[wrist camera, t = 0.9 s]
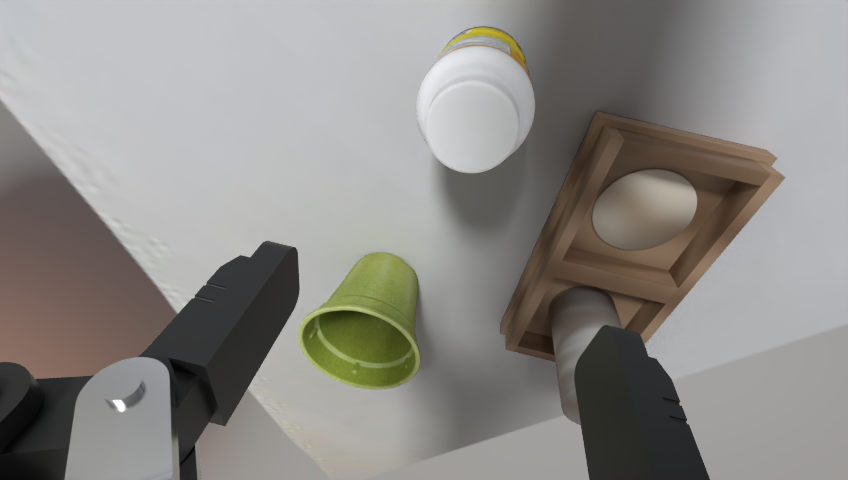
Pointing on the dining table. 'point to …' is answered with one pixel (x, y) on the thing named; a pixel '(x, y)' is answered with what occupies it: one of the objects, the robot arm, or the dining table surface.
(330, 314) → the plant pot
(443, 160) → the supplement bottle
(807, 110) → the dining table surface
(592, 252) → the caddy
